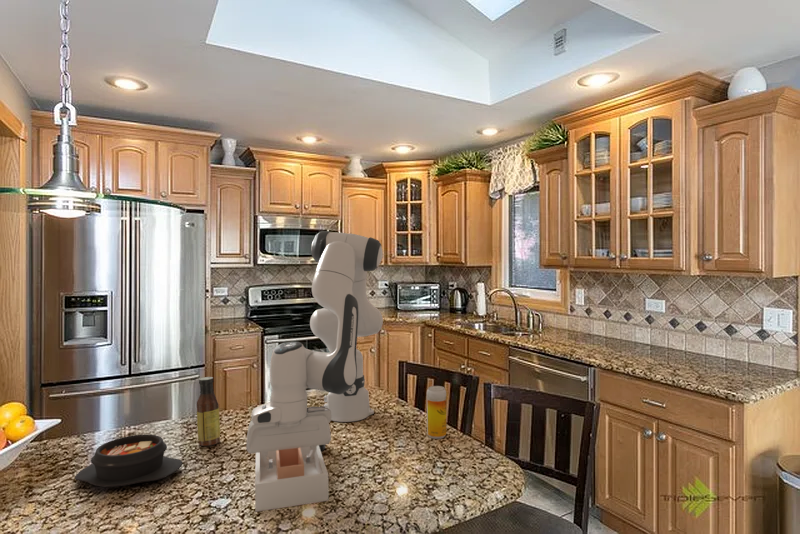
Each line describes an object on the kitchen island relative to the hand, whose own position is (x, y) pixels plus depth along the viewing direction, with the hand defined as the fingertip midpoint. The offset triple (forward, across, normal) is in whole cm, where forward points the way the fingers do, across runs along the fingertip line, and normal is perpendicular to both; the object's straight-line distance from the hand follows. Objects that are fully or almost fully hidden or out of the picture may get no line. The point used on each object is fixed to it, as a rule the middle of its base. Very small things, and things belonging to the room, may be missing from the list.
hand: (289, 465), depth 116 cm
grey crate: (+5, 0, 0) cm, 5 cm away
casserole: (+5, +39, -17) cm, 43 cm away
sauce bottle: (+5, +22, -35) cm, 42 cm away
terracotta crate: (+4, 0, 0) cm, 4 cm away
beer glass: (+5, -46, -19) cm, 50 cm away
